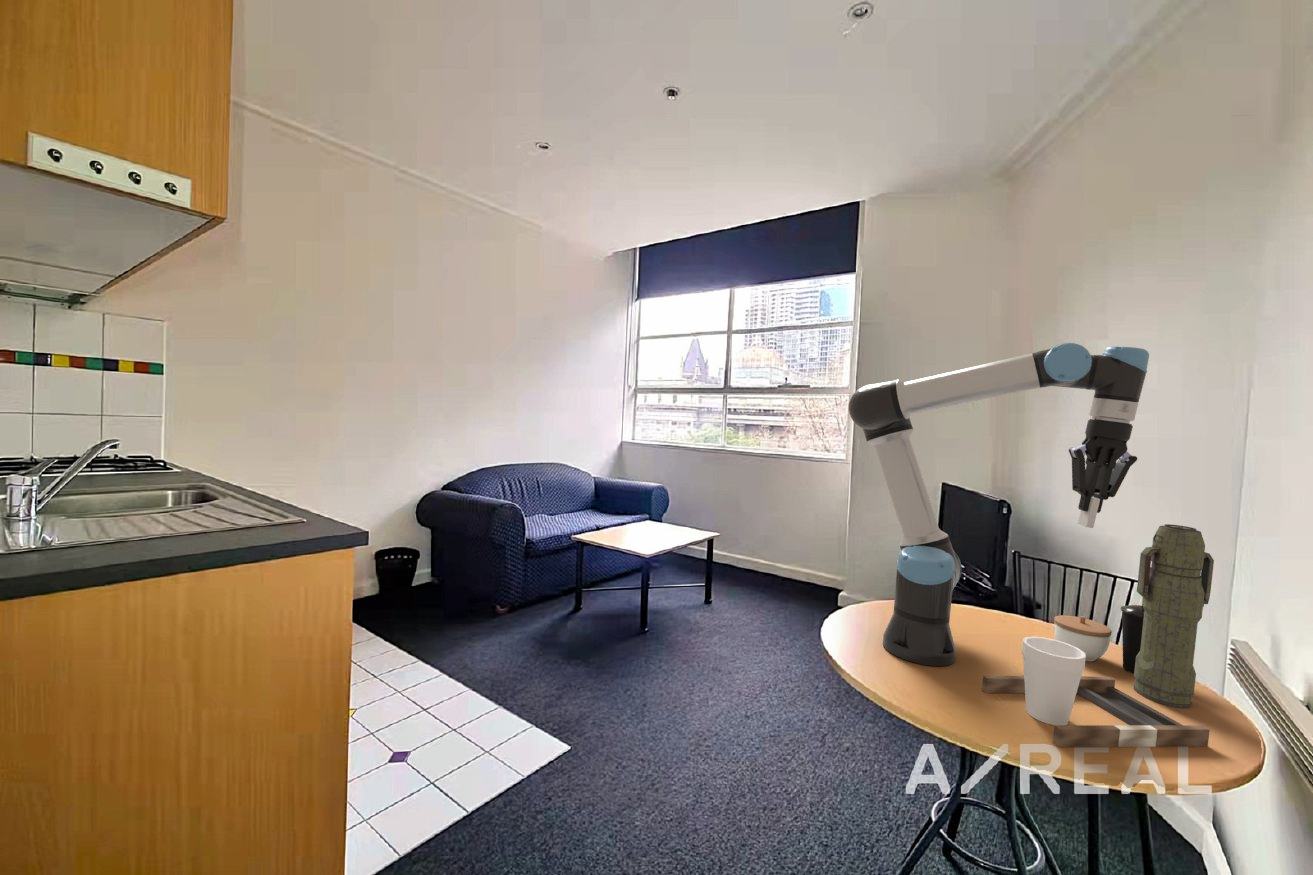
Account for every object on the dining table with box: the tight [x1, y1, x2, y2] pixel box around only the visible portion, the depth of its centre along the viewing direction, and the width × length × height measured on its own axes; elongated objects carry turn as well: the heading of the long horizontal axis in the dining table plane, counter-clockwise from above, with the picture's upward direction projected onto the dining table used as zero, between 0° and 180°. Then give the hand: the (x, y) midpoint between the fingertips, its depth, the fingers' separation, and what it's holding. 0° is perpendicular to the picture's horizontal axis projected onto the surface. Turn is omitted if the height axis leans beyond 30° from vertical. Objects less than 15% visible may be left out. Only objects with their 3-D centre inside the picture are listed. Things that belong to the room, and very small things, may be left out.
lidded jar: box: [1053, 614, 1113, 662], centre depth 129 cm, size 11×11×9 cm
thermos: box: [1133, 524, 1215, 709], centre depth 110 cm, size 9×12×35 cm
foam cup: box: [1021, 635, 1086, 726], centre depth 100 cm, size 10×9×13 cm
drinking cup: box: [1120, 598, 1144, 675], centre depth 121 cm, size 8×8×20 cm
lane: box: [981, 674, 1210, 748], centre depth 101 cm, size 28×18×3 cm, turn 96°
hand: (1085, 525), depth 119 cm, fingers closed
